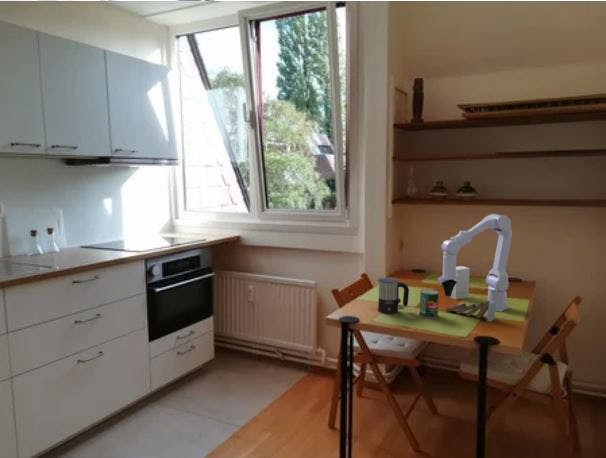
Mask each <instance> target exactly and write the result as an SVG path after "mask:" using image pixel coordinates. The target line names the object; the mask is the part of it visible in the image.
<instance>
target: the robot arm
mask: <svg viewBox="0 0 606 458" xmlns="http://www.w3.org/2000/svg"><path fill="white" fill-rule="evenodd" d="M487 229H492V230H493V231H495V232H496V234H497V235H498V239H497V242H496V243H497V245H496V249H495V255H494V260H493V265H492V268H491V269H489V271H488V274H487V276H486V278H485V284H486V286H487V289H488V290H487V302H488V301H490V302H491V301H495V302H496V308H495V312H503V311H504V310H507V309H508V308H509V306H508V305H507V303H508V301H507V299H508V293H507V291H506V290H508V288H509V286H510V285H509V284H510V283H509V275H508V274H509V273H507V266H508V265H507V264H508V258H509V254H510V249H511V242H512V238H513V229H512V220H511V218H509V216H507V215H503V214H502V215H501V214H495V213H490V214H488V215H487V216H485V217H484V218H483V219H482V220H480V221H479V222H477V224H475V225H474V226H472V227H471V228H470V229H468V230H459V232H458V234H456V235H455V236H452V237H450V239H446V240H444V241H443V242H442V245H441V246H440V248H441V250H442V253H443V254H442V255H443V256H442V259H443V260H442V275H441V276H440V277H437V283H440V284H441V285H442V287H443V291H444V294H445V297H448V298H450V296H451V294H452V291H453V288H454V286H455V284H456V283H457V281H455V280H454V279H460V274H456V267H457V254H458V253H459V251H460V249H462V247H464V246H466V245H467V244H469V243H470V242H472V239H473V237H475V236H477V235H479V234H480V233H482V232H483V231H485V230H487Z"/></svg>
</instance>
